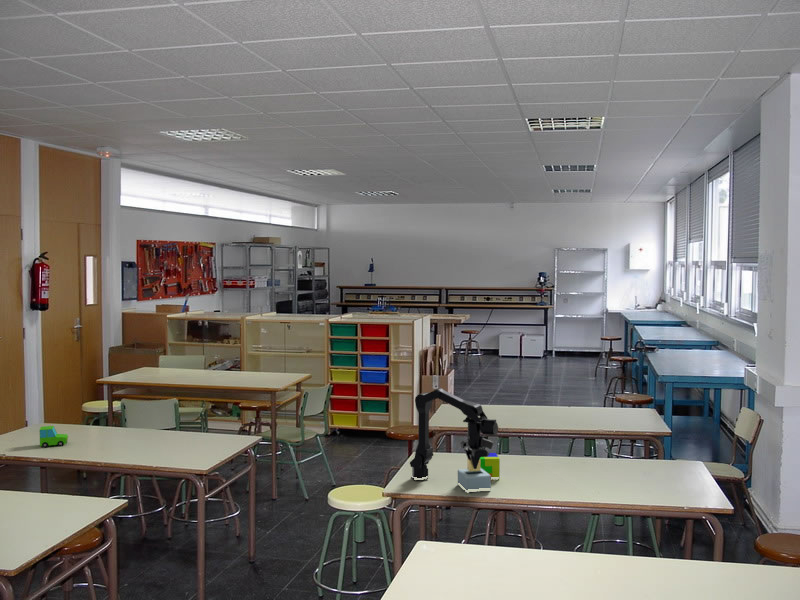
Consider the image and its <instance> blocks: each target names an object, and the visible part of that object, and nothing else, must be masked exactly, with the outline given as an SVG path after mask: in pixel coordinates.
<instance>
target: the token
mask: <svg viewBox="0 0 800 600" xmlns="http://www.w3.org/2000/svg"><path fill="white" fill-rule="evenodd" d="M466 461H467V465H466V466H467V468H466V469H467V470H468V471H470V472H471V471H480V462H481V460H480V459H479V462H478V466H477V469H474V468H473V465H472V461H471V458H467V460H466Z"/></svg>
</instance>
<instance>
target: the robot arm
mask: <svg viewBox="0 0 800 600" xmlns="http://www.w3.org/2000/svg"><path fill="white" fill-rule="evenodd" d="M414 398H415V399H414V404H415V408H416V410H417V413H418V432H417V433H418V434H417V435H418V441H417V442H418V444H417V447H416V448H415V452H414V458H413V459H412V460H411V461H410V462H409V465H410V467H411V468H412V470H411V473H412V475H411V476H413V477H417V478H422V477H426V476H428V477H429V468H428V465H429V463H430V461H431V460H432V458H433V457H434V446H431V445H430V411H431V410H432V409H431V408H432V406H433V401H434V400H436V399H438V400H441V401H442V402H444V403H446V404H448V405H451V406H452V407H455V408H456V409H458V410H460V411H461V413H462V414H463V415H465V416H466V417H465V419H463V421H462V422H463V423H467V434H465V436H466V438H467V440H461V442H460V448H462V449H464V453H465V455H466V457H467V458H471V461H472V465H473V468H474V469H477V466H478V462H479V459H480V458H481V457H488V453H489V451H488V450H487V449H489V450H492V449H493V445H494V442H493V441H492V440H490V439H489V438H488V436H497V434H498V433H499V426H498V425H499V424H498V422H497V419H488V416H487V415H486V414H485V412H484V410H483V407H482V405H481V404H480V403H477V402H473V401H468V400H465V399H462V398H460V397H459V396H456V395H454V394H452V393H451V392H449V391H446V390H444V389H443V388H436V389H434V390H433V391H430V392H428V391H427V392H422V393H420V394H417V395H416V396H415V397H414ZM486 435H487V436H486ZM485 448H487V449H485Z"/></svg>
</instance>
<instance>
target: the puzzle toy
mask: <svg viewBox="0 0 800 600" xmlns="http://www.w3.org/2000/svg"><path fill="white" fill-rule="evenodd" d="M480 460H481V462H480V468H482V469H483V470H484V471H486V472H487V473H488V474H489V475H491V477H499V478H500V472H501V471H500V466H501V464H500V462H501V460H500V457H499V455H498V454H497V453H496V452H488V457H481V458H480Z"/></svg>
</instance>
